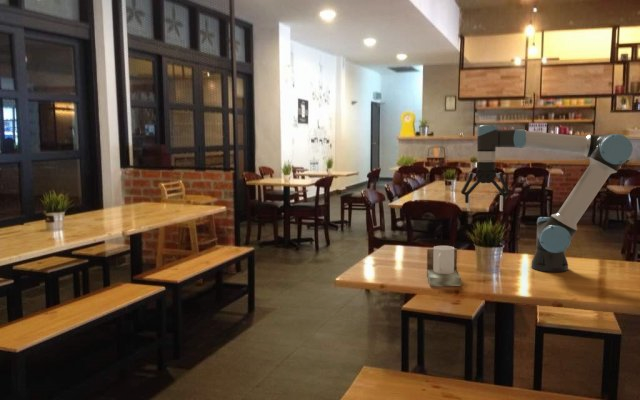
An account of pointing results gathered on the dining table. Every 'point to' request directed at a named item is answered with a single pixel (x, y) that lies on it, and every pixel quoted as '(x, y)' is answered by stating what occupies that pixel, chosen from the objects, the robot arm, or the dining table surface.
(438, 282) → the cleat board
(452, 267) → the mug
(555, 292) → the dining table surface
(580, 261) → the dining table surface
